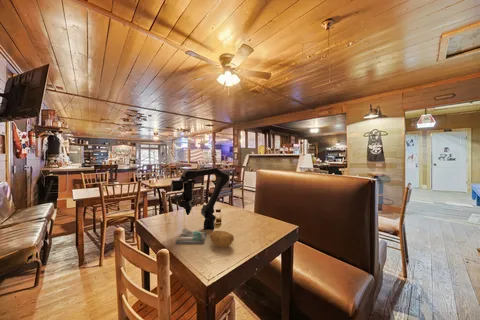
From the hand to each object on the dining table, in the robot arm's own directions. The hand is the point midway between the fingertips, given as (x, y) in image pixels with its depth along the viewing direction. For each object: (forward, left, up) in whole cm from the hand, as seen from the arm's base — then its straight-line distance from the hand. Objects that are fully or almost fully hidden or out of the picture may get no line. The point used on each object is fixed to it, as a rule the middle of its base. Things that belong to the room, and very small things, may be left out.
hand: (188, 214), depth 118 cm
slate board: (-5, +9, -12) cm, 16 cm away
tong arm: (-5, +8, -9) cm, 14 cm away
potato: (-23, +17, -12) cm, 31 cm away
